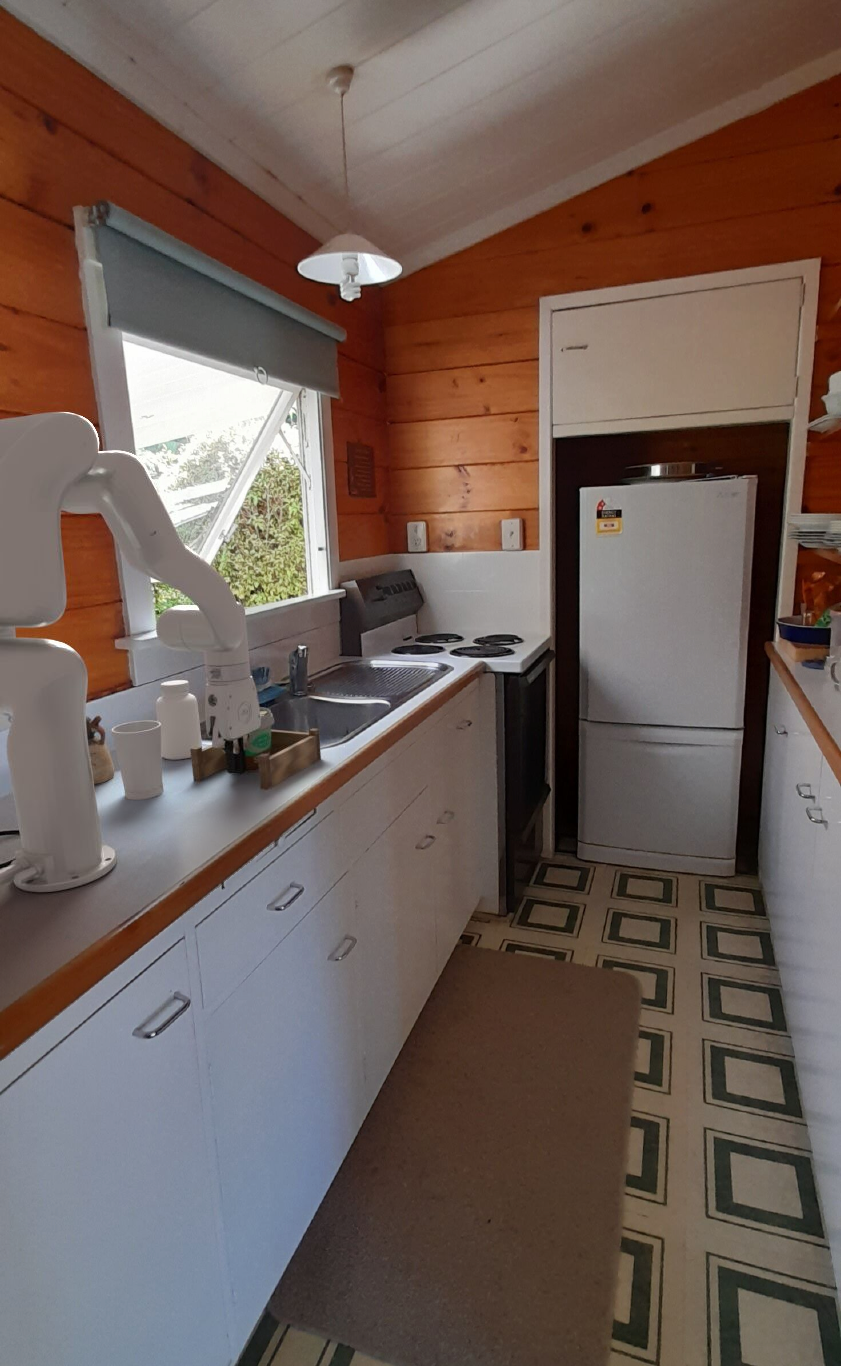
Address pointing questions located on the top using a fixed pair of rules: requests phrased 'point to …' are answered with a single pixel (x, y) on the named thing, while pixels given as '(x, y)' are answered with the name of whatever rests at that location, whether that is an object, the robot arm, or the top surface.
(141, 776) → the cup
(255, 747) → the food container
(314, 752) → the crate
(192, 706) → the pill bottle
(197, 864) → the top surface
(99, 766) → the figurine
